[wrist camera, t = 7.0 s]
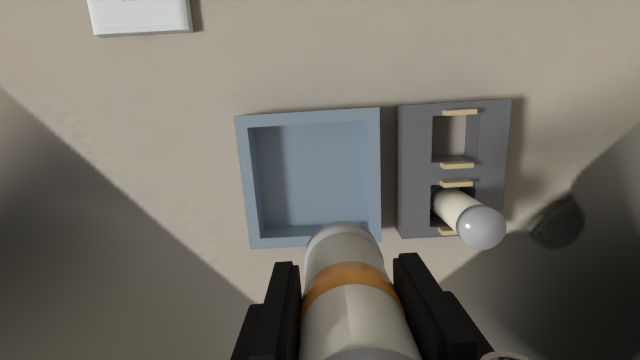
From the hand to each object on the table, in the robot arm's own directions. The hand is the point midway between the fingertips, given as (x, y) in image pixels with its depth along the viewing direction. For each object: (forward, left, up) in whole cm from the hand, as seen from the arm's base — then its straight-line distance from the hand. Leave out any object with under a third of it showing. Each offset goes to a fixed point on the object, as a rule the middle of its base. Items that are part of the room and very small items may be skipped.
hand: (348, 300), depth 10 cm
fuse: (-11, +3, -20) cm, 23 cm away
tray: (+2, 0, -20) cm, 20 cm away
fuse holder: (-11, 0, -20) cm, 23 cm away
